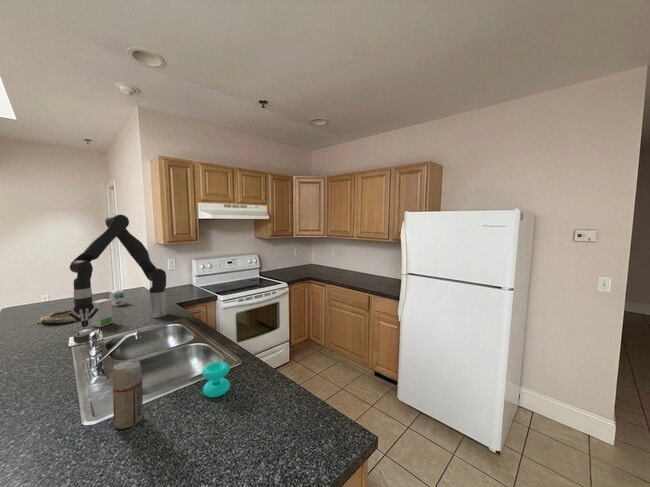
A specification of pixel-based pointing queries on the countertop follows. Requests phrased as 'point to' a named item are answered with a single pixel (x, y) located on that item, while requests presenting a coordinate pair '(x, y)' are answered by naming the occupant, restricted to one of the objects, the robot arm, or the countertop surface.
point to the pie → (58, 317)
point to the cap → (85, 332)
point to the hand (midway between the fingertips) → (85, 326)
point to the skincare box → (102, 313)
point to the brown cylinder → (127, 394)
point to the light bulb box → (117, 297)
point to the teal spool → (216, 379)
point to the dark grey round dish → (81, 339)
